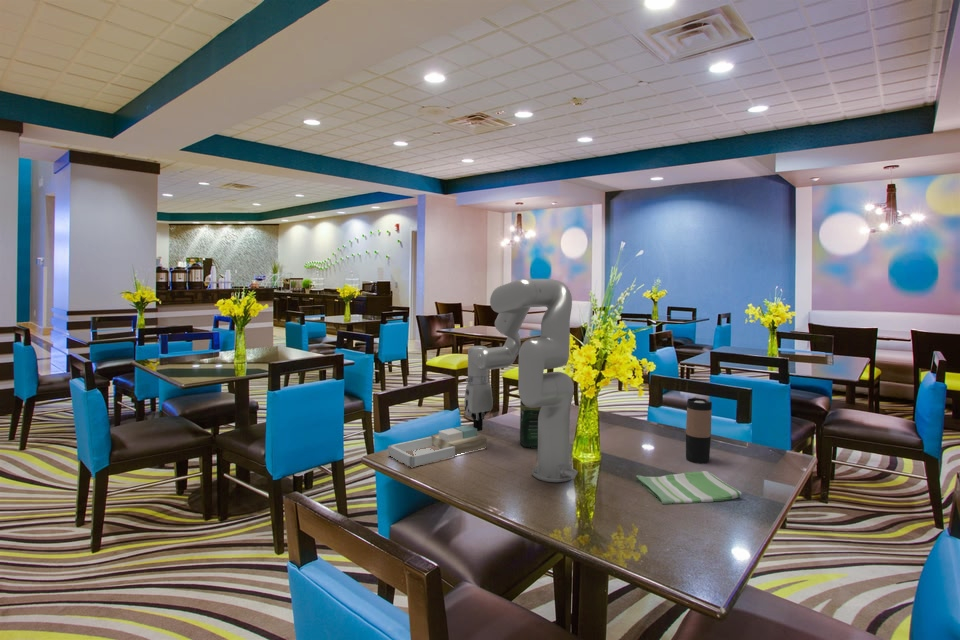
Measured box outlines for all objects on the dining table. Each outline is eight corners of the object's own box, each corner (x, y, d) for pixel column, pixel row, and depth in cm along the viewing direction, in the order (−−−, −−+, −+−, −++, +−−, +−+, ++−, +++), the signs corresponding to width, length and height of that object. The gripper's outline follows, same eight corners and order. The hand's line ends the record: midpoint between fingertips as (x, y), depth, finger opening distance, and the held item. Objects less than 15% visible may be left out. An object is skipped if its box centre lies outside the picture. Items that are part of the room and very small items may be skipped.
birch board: (486, 448, 184) (486, 437, 184) (454, 456, 175) (454, 445, 175) (462, 439, 195) (462, 428, 195) (431, 446, 186) (431, 435, 186)
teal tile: (477, 435, 186) (477, 428, 186) (463, 438, 182) (463, 431, 182) (467, 431, 191) (467, 425, 191) (453, 434, 187) (453, 427, 187)
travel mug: (683, 461, 172) (685, 401, 170) (686, 454, 178) (688, 397, 177) (709, 465, 168) (711, 404, 167) (710, 458, 175) (713, 399, 173)
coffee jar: (544, 448, 185) (545, 396, 183) (522, 448, 184) (523, 397, 183) (539, 440, 194) (539, 390, 193) (518, 440, 194) (518, 391, 192)
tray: (455, 457, 175) (455, 447, 175) (411, 468, 164) (411, 457, 164) (430, 446, 186) (430, 436, 186) (388, 455, 176) (388, 445, 176)
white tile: (462, 438, 182) (462, 431, 182) (448, 442, 178) (448, 434, 178) (452, 434, 187) (452, 428, 187) (438, 437, 183) (438, 430, 183)
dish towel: (634, 481, 156) (634, 472, 156) (708, 478, 159) (708, 469, 159) (662, 506, 138) (662, 496, 138) (744, 502, 141) (744, 492, 141)
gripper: (467, 384, 181) (467, 436, 183) (500, 379, 190) (500, 428, 192) (455, 381, 187) (455, 431, 188) (487, 376, 196) (487, 424, 198)
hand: (478, 429), depth 190 cm, fingers closed
